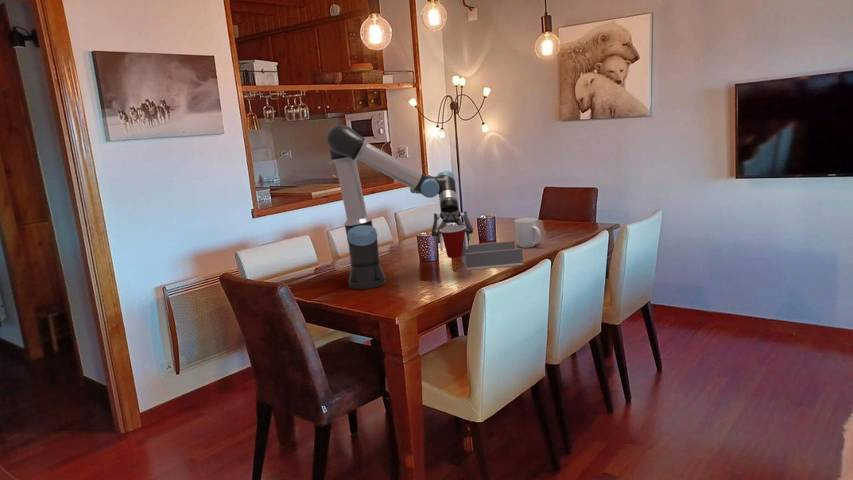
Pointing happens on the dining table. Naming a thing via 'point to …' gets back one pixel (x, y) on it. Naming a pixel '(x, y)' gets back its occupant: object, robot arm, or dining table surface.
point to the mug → (527, 232)
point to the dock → (491, 255)
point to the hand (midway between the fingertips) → (454, 248)
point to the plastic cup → (453, 240)
